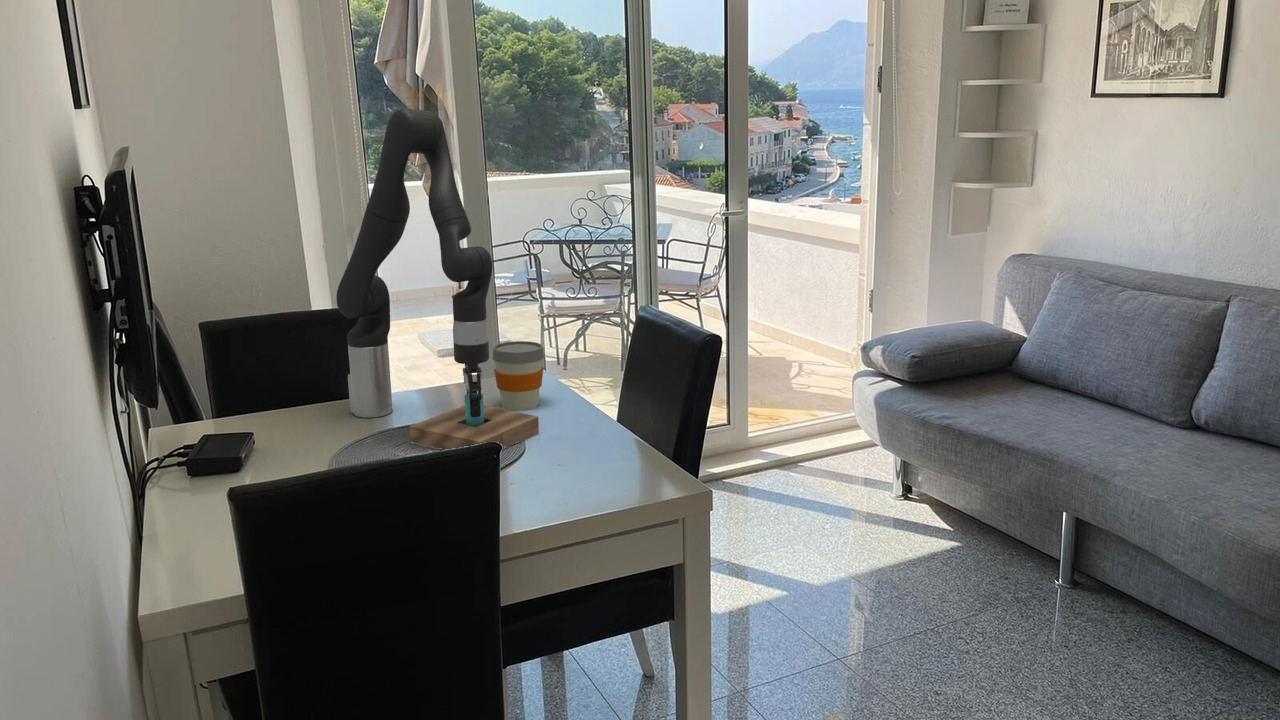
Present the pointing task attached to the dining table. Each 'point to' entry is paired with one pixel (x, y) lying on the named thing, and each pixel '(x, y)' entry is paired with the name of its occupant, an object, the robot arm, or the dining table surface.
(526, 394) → the reusable coffee cup
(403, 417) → the dining table surface
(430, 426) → the socket block
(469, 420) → the peg
